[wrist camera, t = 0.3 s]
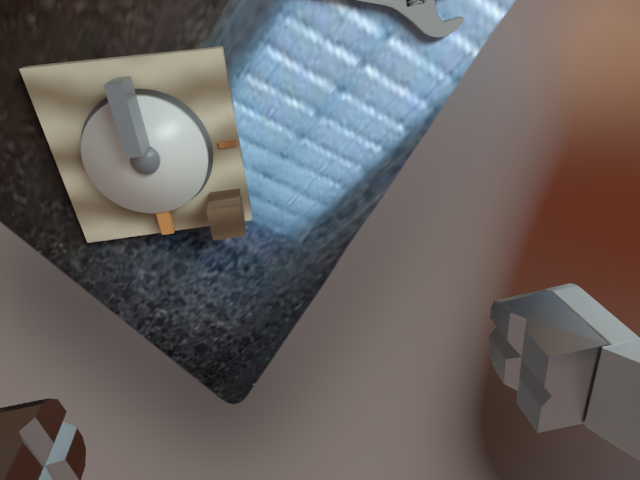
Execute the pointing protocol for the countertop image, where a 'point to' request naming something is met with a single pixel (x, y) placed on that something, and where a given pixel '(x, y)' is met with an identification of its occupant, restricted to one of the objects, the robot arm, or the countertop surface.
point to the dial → (144, 152)
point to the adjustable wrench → (422, 16)
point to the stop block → (226, 214)
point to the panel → (149, 79)
